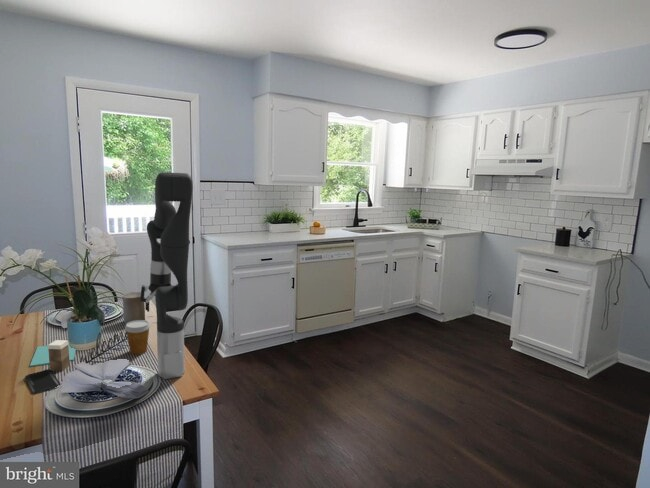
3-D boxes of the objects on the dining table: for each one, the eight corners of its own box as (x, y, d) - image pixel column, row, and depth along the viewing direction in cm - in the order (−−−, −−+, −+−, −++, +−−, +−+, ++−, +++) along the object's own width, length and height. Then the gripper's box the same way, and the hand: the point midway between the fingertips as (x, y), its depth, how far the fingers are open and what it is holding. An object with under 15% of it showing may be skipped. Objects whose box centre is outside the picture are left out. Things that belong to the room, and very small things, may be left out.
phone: (50, 368, 151) (61, 384, 141) (50, 371, 151) (61, 387, 141) (24, 375, 146) (33, 392, 135) (24, 378, 146) (33, 395, 136)
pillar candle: (149, 319, 206) (148, 290, 204) (136, 326, 197) (135, 295, 195) (132, 317, 208) (131, 288, 206) (119, 323, 199) (117, 293, 197)
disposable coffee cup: (142, 344, 177) (142, 318, 175) (155, 350, 172) (155, 323, 169) (121, 351, 169) (120, 324, 167) (133, 358, 164) (132, 329, 162)
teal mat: (73, 360, 160) (73, 359, 160) (29, 366, 154) (29, 365, 154) (77, 342, 176) (77, 341, 176) (37, 347, 169) (37, 346, 169)
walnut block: (69, 365, 156) (68, 340, 154) (62, 371, 152) (60, 345, 150) (57, 365, 156) (56, 340, 154) (50, 370, 152) (48, 344, 150)
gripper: (140, 274, 155) (140, 315, 158) (180, 273, 160) (179, 313, 163) (141, 268, 161) (140, 308, 164) (179, 268, 167) (178, 306, 170)
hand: (159, 310), depth 164 cm, fingers open, 8 cm apart
